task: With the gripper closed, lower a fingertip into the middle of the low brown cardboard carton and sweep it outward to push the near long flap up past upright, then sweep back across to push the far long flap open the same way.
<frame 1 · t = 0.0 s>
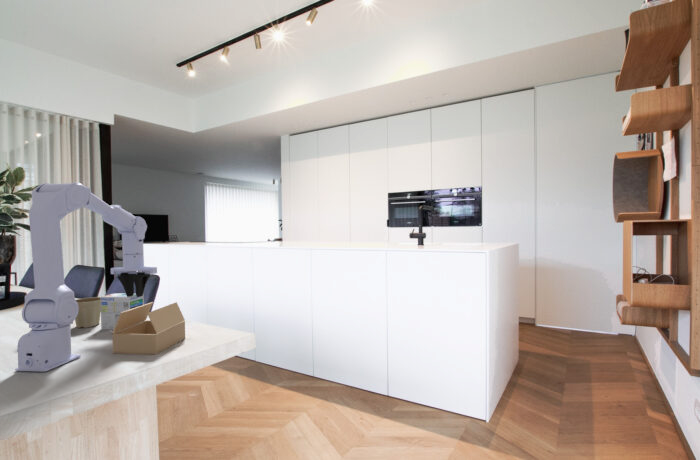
hand: (134, 296, 114), 10 cm above the table, fingers open, 3 cm apart
flower pot: (87, 326, 119), on the table
carton: (151, 345, 98), on the table
near flap: (167, 316, 97), point 8 cm above the table, hinge at 65.0°
far flap: (134, 316, 98), point 8 cm above the table, hinge at 65.0°
light bulb box: (123, 327, 117), on the table, touching gripper
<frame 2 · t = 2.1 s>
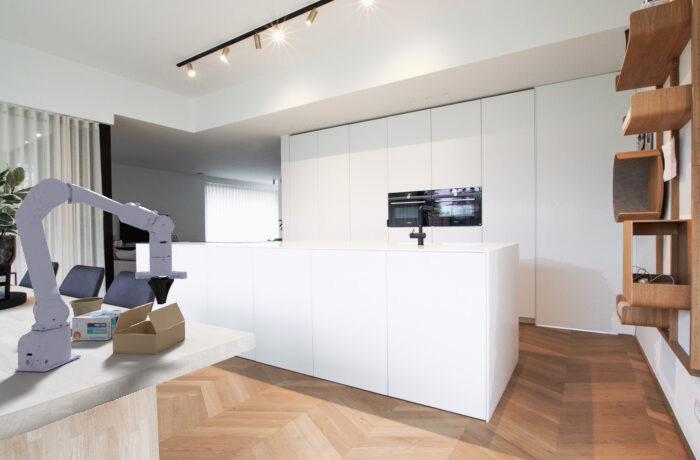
hand: (161, 303, 103), 10 cm above the table, fingers closed
light bulb box: (115, 319, 113), point 3 cm above the table
everything else where it was.
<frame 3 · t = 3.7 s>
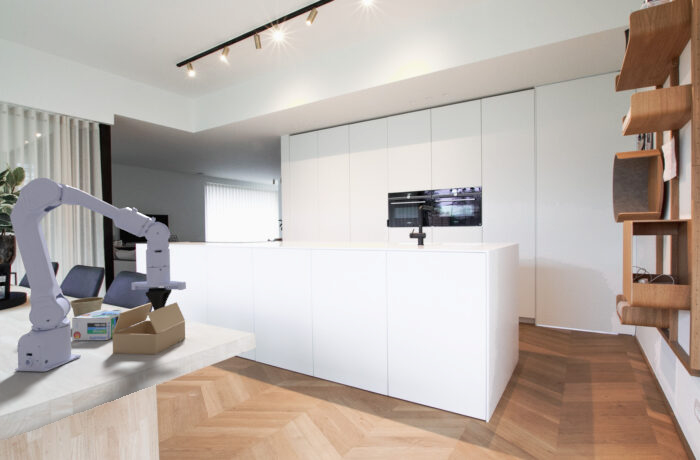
hand: (159, 315, 97), 8 cm above the table, fingers closed, pressing on near flap
near flap: (167, 316, 97), point 8 cm above the table, hinge at 65.2°, touching gripper
everything else where it was.
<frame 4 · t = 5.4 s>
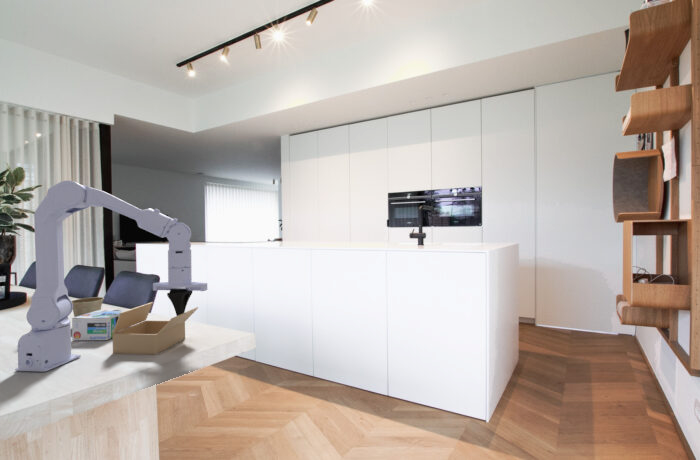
hand: (180, 317, 97), 8 cm above the table, fingers closed, pressing on near flap
near flap: (178, 320, 97), point 7 cm above the table, hinge at 135.6°, touching gripper
everything else where it was.
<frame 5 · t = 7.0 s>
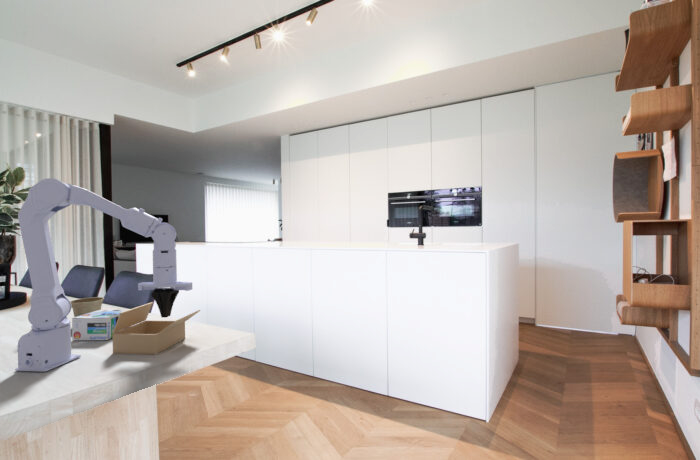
hand: (165, 316, 97), 8 cm above the table, fingers closed
near flap: (180, 321, 97), point 7 cm above the table, hinge at 145.6°
everything else where it was.
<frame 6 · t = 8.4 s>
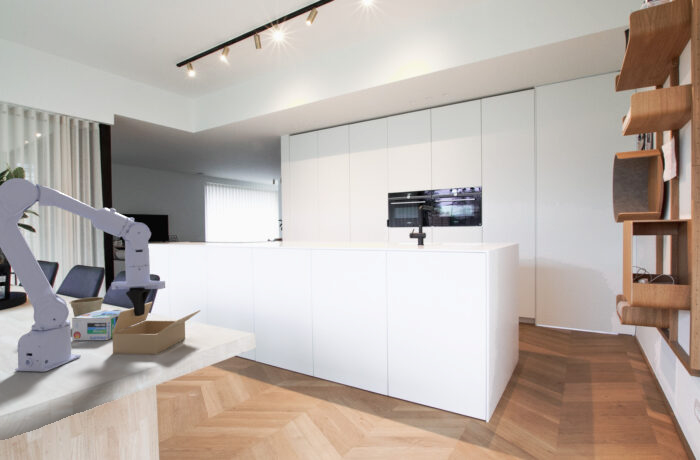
hand: (139, 315, 98), 8 cm above the table, fingers closed, pressing on far flap
near flap: (180, 321, 97), point 7 cm above the table, hinge at 146.4°
far flap: (133, 316, 98), point 8 cm above the table, hinge at 66.7°, touching gripper
everything else where it was.
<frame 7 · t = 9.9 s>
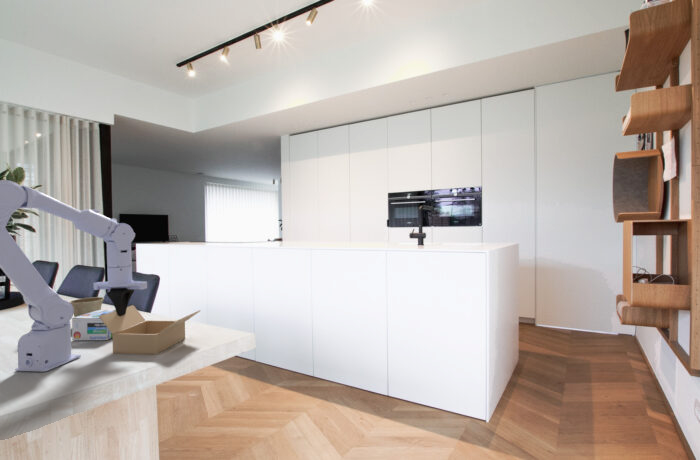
hand: (121, 315, 99), 8 cm above the table, fingers closed, pressing on far flap
far flap: (123, 318, 98), point 7 cm above the table, hinge at 129.7°, touching gripper
everything else where it was.
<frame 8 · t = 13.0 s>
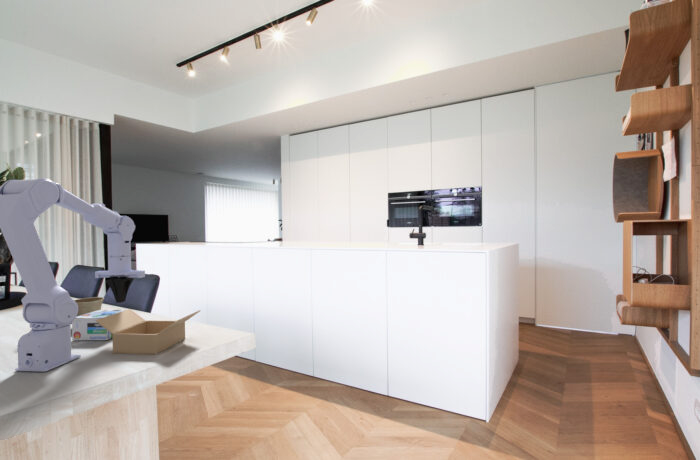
hand: (120, 302, 105), 10 cm above the table, fingers closed
far flap: (121, 320, 98), point 7 cm above the table, hinge at 144.7°
everything else where it was.
at the end: near flap at +146° (first picture: +65°); far flap at +145° (first picture: +65°) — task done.
